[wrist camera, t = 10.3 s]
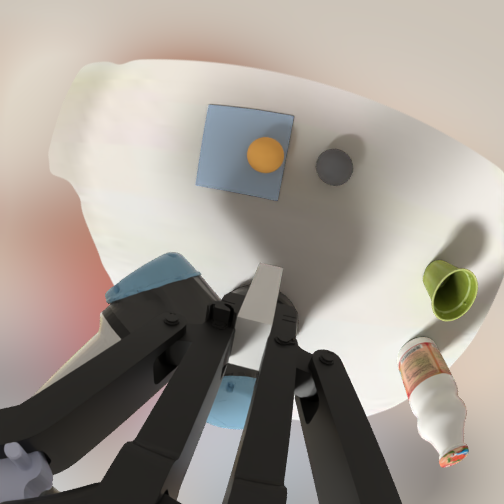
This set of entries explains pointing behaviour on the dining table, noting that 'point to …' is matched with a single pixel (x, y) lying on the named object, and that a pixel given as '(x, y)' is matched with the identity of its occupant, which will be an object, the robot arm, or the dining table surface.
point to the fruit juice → (434, 399)
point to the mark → (240, 150)
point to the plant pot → (450, 289)
